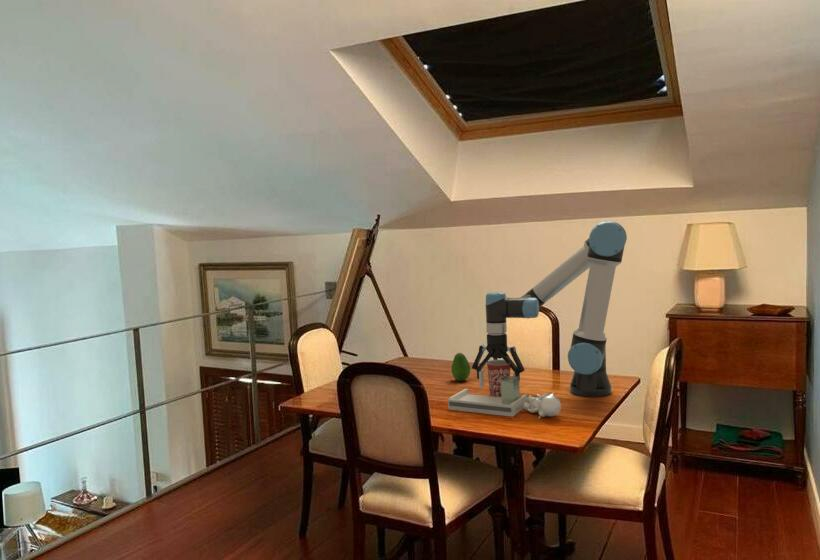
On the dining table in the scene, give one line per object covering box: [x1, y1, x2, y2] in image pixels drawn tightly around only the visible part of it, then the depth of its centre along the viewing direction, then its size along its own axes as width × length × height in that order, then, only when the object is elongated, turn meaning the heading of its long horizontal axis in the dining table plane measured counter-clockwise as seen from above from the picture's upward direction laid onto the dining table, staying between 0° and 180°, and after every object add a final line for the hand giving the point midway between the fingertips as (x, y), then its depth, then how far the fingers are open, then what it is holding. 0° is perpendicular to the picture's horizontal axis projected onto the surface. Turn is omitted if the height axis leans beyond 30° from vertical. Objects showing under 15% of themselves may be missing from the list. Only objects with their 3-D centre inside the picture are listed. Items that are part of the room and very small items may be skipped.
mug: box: [486, 359, 511, 397], centre depth 232 cm, size 13×9×14 cm
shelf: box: [447, 388, 528, 418], centre depth 218 cm, size 24×15×4 cm, turn 60°
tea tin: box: [501, 375, 521, 405], centre depth 214 cm, size 5×6×9 cm
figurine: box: [523, 391, 562, 419], centre depth 207 cm, size 11×7×15 cm
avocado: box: [451, 352, 471, 382], centre depth 260 cm, size 8×8×12 cm
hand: (498, 389), depth 233 cm, fingers open, 13 cm apart
